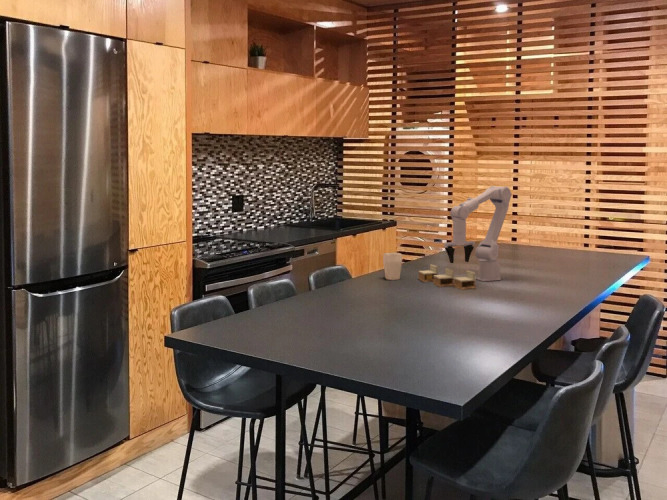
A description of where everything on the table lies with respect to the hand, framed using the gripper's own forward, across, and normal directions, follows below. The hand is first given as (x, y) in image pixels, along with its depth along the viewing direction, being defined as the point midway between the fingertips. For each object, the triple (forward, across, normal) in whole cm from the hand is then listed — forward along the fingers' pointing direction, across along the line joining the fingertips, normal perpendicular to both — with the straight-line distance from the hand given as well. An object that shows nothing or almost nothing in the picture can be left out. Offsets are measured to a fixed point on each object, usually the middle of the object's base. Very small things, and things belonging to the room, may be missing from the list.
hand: (459, 262), depth 304 cm
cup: (+10, +23, -24) cm, 34 cm away
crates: (+10, +6, -2) cm, 12 cm away
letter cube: (+10, +9, -13) cm, 19 cm away
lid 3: (+6, +2, +9) cm, 11 cm away
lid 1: (+6, +9, -13) cm, 17 cm away
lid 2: (+6, +8, 0) cm, 10 cm away
